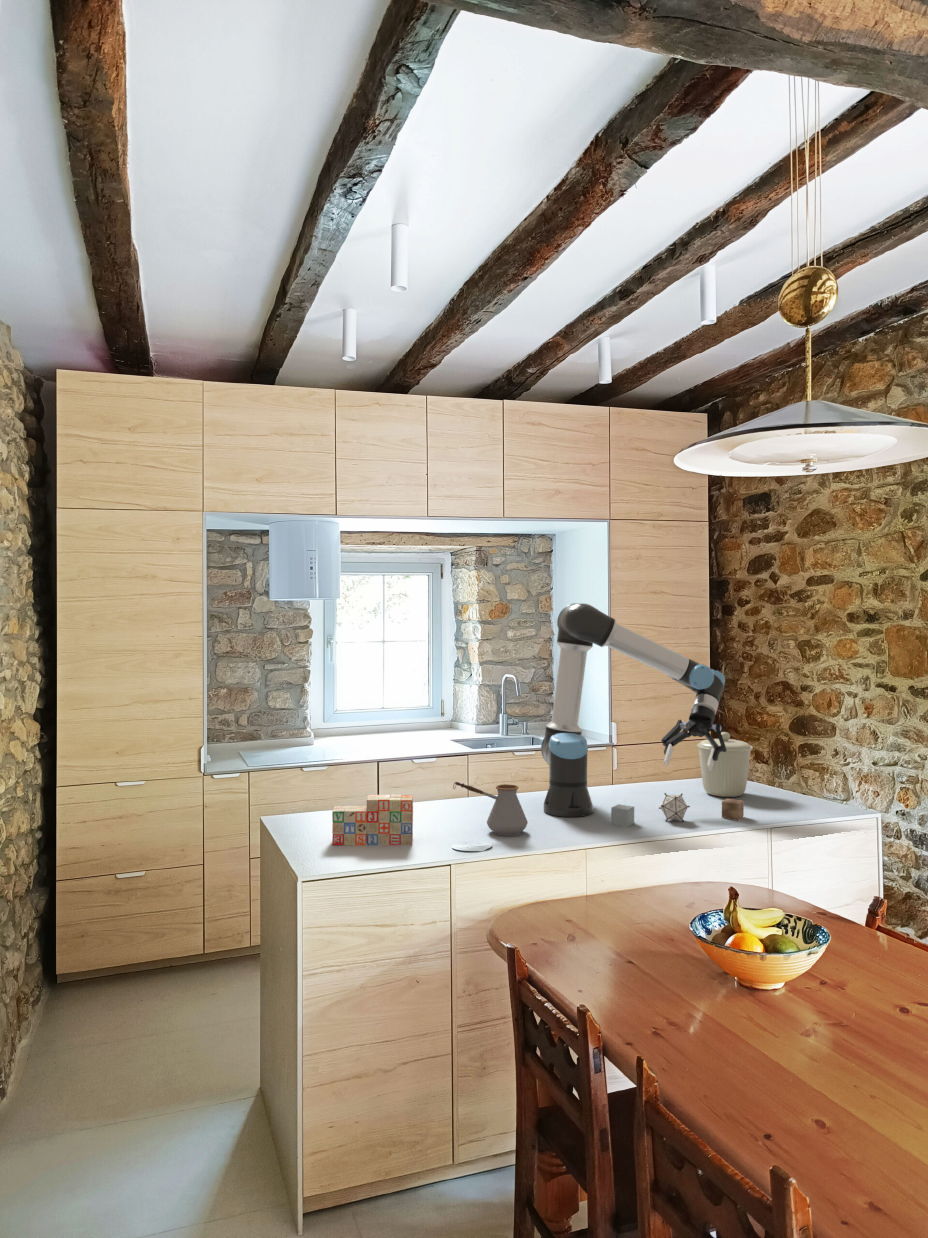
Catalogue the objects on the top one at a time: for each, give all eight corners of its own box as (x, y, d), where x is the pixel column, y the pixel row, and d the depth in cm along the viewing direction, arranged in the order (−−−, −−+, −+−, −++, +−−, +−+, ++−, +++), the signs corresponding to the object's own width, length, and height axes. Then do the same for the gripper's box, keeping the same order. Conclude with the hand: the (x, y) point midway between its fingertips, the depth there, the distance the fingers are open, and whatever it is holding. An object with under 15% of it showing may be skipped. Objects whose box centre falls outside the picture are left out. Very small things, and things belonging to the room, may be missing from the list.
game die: (677, 832, 251) (693, 803, 253) (681, 828, 243) (698, 799, 245) (650, 815, 253) (667, 787, 256) (654, 811, 245) (670, 782, 248)
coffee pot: (520, 826, 243) (520, 774, 243) (533, 836, 232) (533, 782, 232) (448, 830, 238) (448, 777, 238) (458, 841, 227) (458, 786, 227)
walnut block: (721, 818, 253) (721, 801, 253) (726, 814, 257) (727, 798, 257) (738, 820, 250) (738, 803, 250) (743, 817, 254) (743, 800, 254)
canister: (763, 798, 278) (763, 735, 278) (714, 801, 274) (714, 737, 274) (733, 787, 296) (734, 727, 296) (686, 790, 292) (687, 729, 291)
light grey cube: (611, 824, 245) (611, 807, 245) (618, 821, 249) (618, 804, 249) (627, 827, 242) (627, 810, 242) (634, 823, 246) (634, 806, 246)
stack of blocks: (331, 846, 223) (331, 799, 223) (334, 839, 229) (334, 794, 229) (412, 845, 224) (412, 799, 223) (413, 839, 230) (413, 794, 230)
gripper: (745, 722, 265) (730, 777, 253) (669, 716, 279) (651, 768, 267) (740, 706, 261) (725, 762, 249) (663, 701, 275) (645, 754, 263)
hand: (687, 765), depth 258 cm, fingers open, 13 cm apart
